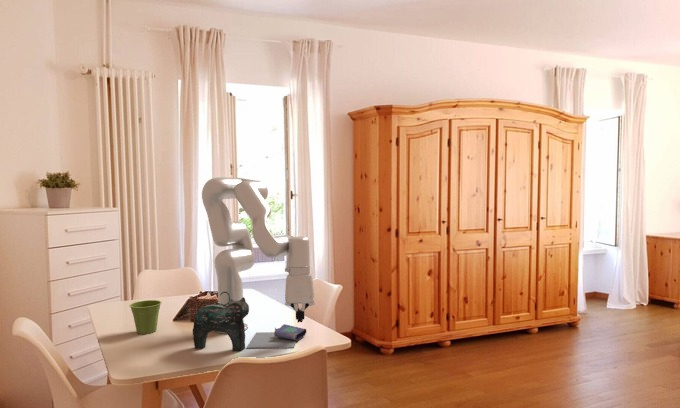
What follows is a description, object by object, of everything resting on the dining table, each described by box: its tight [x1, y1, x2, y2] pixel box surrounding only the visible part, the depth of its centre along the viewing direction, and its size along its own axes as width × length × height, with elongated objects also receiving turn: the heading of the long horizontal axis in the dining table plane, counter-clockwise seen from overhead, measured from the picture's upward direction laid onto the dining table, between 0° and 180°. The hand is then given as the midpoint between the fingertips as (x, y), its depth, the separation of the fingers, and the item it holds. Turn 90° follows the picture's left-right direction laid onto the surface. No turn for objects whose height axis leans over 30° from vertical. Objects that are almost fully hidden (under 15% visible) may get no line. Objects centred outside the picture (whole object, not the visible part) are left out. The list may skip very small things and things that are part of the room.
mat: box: [245, 331, 297, 350], centre depth 182 cm, size 16×18×1 cm
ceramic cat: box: [192, 292, 250, 352], centre depth 173 cm, size 20×6×20 cm, turn 77°
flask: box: [273, 324, 307, 342], centre depth 184 cm, size 9×3×11 cm
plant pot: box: [129, 299, 162, 335], centre depth 196 cm, size 12×12×11 cm
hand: (300, 321), depth 182 cm, fingers closed
